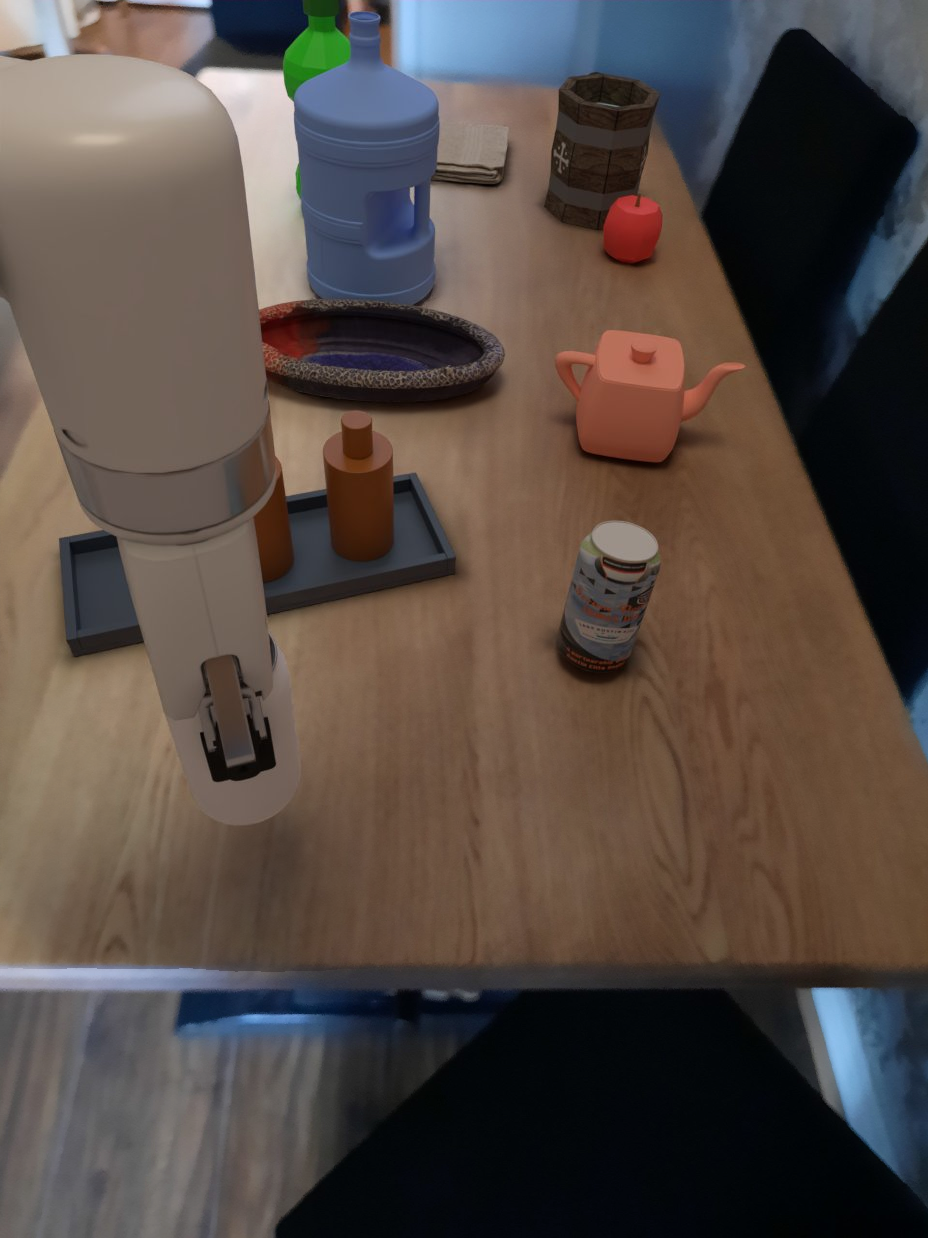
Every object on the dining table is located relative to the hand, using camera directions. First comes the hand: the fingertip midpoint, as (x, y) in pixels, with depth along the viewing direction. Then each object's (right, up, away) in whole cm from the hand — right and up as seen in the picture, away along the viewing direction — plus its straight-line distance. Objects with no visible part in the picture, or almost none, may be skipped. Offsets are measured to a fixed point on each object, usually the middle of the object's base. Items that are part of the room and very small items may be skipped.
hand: (232, 713), depth 46 cm
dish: (+1, +32, +48) cm, 58 cm away
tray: (-5, +10, +29) cm, 31 cm away
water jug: (+1, +47, +61) cm, 76 cm away
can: (-1, -5, +6) cm, 7 cm away
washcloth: (+13, +75, +86) cm, 115 cm away
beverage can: (+23, +3, +25) cm, 34 cm away
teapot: (+30, +24, +44) cm, 58 cm away
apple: (+34, +54, +69) cm, 94 cm away
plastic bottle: (-6, +61, +72) cm, 95 cm away
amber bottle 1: (-5, +10, +28) cm, 30 cm away
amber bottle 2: (+3, +12, +30) cm, 33 cm away
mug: (+30, +67, +79) cm, 108 cm away
